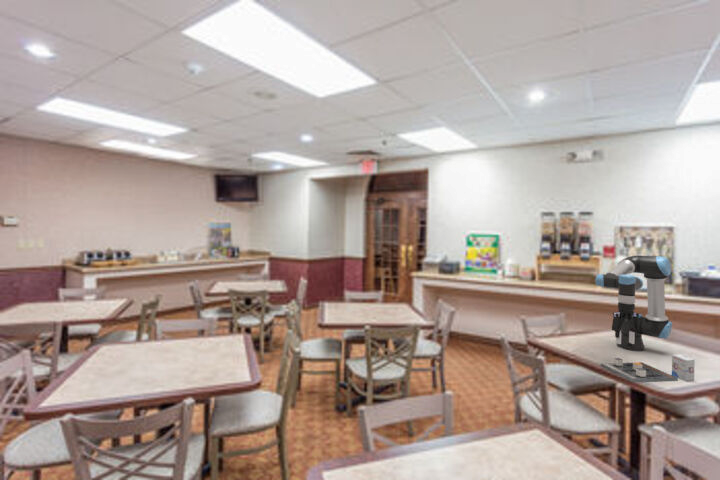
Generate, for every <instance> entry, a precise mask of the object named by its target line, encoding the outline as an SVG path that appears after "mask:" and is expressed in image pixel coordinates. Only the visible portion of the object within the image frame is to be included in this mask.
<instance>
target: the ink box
mask: <svg viewBox="0 0 720 480" xmlns="http://www.w3.org/2000/svg"><path fill="white" fill-rule="evenodd" d="M695 367H696V366H695V359H693V358H691V357H689V356H685V355H684V354H680V353H679V354H677V353H676V354H672V356H671V375H672V376H674V377H677V378H678V379H679V380H682V381H683V382H684V381H685V382H694V381H695Z"/></svg>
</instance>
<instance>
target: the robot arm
mask: <svg viewBox="0 0 720 480" xmlns="http://www.w3.org/2000/svg"><path fill="white" fill-rule="evenodd" d="M635 273H636V274H642V275H643V277H644V279H646V292H647V293H646V294H647V296H646V297H647V314H645V316H643V314H641V313H638V312H635V309H636V308H635V306H636V305H635V303H636V291H638V290H640V289H641V288H643V286H644V281H643V280H642V279H641V277H639V276H635V275H633V274H635ZM671 274H672V265H671V261H670V259H669V258H667V257H666V256H660V255H639V254H638V255H632V256H628V257H624V258H622V259H621V260H619V262H618V263H617V265H615V266H614V267H613V268H612V269H611V270H608V271H607V272H606V273H605V274H603V273H599V274H596V276H595V279H594V280H595V285H596V286H598V287H601V288H610V289H618V290H617V291H618V293H617V301H618V303H617V309H618V311H617V312H613V313H612V315H613V316H612V317H613V318H612V323H611V331H613V332H614V337H615V344H616V346H617V347H618V348H621V349H624V350H629V351H635V352H636V351H638V352H642V351H645V349H646V348H645V346H646V345H645V344H644V341H643V337H642V335H644V336H648V337H653V338H658V339H662V340H663V339H664V340H666V339H667V340H668V338H669V337H670V336H671V335H670V334H671V332H672V329H673V323H672V322H673V321H670V320H669V317H668V316H667V315H666V301H665V300H666V298H665V297H666V296H665V295H666V293H665V292H666V291H665V280H666V279H667V278H668V277H669V276H670V275H671Z"/></svg>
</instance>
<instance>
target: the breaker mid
mask: <svg viewBox="0 0 720 480" xmlns="http://www.w3.org/2000/svg"><path fill="white" fill-rule="evenodd" d="M632 363H633V369H634V370H636V369H637V368H642V364H640V363H641V362H637V361H636V362H632Z"/></svg>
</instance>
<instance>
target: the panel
mask: <svg viewBox="0 0 720 480" xmlns="http://www.w3.org/2000/svg"><path fill="white" fill-rule="evenodd" d="M633 363H634V362H623V366H617V365H615V364H614V362H610V363H607V362H604V363H600V367H602V368H604V369H606V370H608V371H609V372H611V373H613V374H616V375H618V376H619V377H622V378H623V379H625V380H627V381H629V382H631V383H647V382H648V383H649V382H652V383H653V382H677V381H678V380H679V378H677V377H675V376H673V375H672V374H670V373H667V372H665V371H662V370H660V369H658V368H656V367H654V366H651V365H648V364H646V363H644V362H639V363H640V364H642V369H645V370H646V377H640V376H638V375H636V370H634V369H633Z"/></svg>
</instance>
